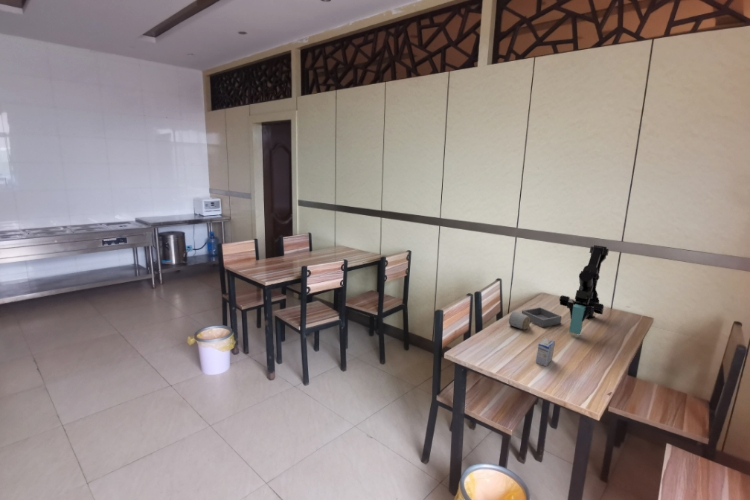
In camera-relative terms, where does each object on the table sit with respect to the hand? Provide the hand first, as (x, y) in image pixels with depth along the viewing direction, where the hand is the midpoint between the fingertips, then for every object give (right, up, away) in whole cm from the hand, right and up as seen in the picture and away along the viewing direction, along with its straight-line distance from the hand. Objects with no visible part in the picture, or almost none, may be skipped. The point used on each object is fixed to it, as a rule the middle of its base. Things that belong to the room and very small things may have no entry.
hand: (576, 319), depth 186 cm
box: (-8, -4, +20) cm, 22 cm away
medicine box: (-25, -13, -23) cm, 37 cm away
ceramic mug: (-23, -6, +11) cm, 26 cm away
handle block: (+1, -6, +3) cm, 7 cm away
